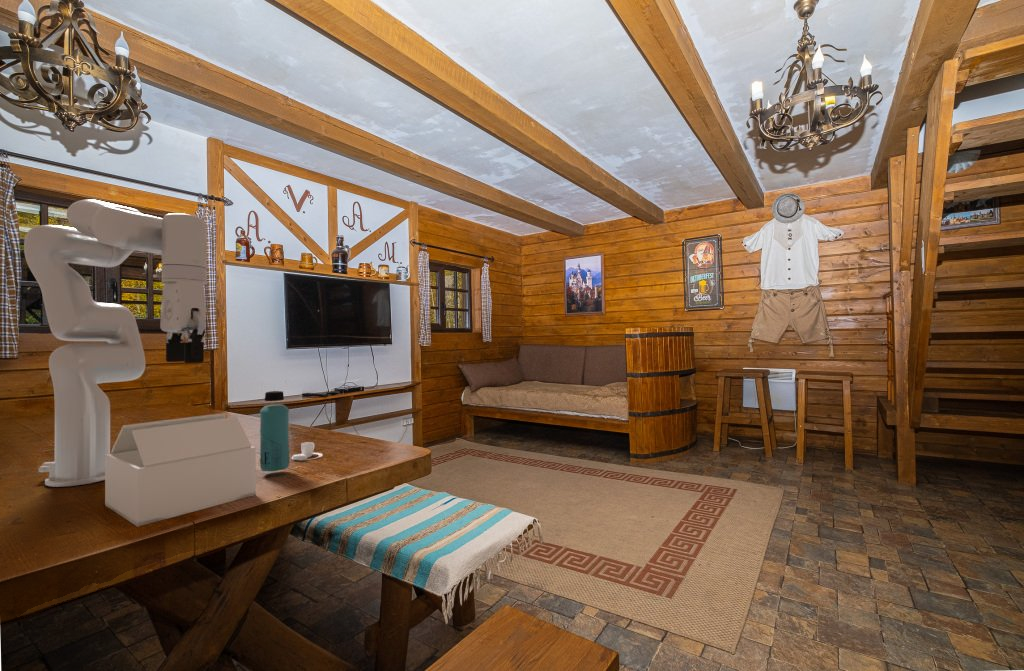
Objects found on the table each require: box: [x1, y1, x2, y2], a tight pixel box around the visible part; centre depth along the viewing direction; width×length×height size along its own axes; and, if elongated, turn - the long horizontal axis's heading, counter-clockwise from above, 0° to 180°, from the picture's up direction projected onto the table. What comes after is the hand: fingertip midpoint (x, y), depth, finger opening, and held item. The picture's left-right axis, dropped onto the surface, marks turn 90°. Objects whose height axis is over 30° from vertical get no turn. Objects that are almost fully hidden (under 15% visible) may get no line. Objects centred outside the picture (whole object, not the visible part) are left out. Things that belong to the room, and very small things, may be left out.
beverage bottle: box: [259, 390, 291, 472], centre depth 112 cm, size 6×7×20 cm
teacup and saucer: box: [291, 441, 324, 461], centre depth 129 cm, size 9×8×4 cm
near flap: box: [132, 416, 252, 468], centre depth 91 cm, size 18×8×1 cm
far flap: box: [110, 412, 226, 454], centre depth 98 cm, size 18×9×1 cm
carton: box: [104, 445, 257, 528], centre depth 94 cm, size 20×18×10 cm
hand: (184, 361), depth 94 cm, fingers open, 8 cm apart
